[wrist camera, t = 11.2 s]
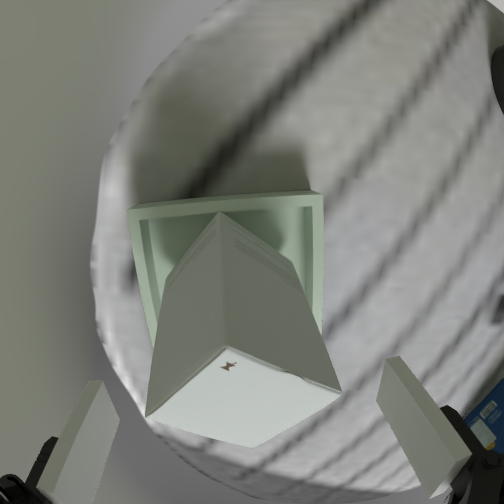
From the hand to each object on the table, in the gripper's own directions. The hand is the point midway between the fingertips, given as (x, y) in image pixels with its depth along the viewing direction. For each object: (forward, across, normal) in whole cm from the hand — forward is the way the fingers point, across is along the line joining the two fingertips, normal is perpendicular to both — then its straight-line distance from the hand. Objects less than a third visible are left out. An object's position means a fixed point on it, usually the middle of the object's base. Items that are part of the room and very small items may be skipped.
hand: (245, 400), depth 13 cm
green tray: (+20, -1, -4) cm, 20 cm away
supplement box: (+17, -1, 0) cm, 17 cm away
